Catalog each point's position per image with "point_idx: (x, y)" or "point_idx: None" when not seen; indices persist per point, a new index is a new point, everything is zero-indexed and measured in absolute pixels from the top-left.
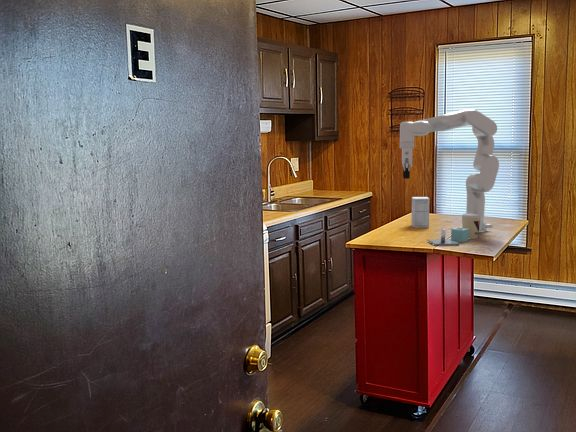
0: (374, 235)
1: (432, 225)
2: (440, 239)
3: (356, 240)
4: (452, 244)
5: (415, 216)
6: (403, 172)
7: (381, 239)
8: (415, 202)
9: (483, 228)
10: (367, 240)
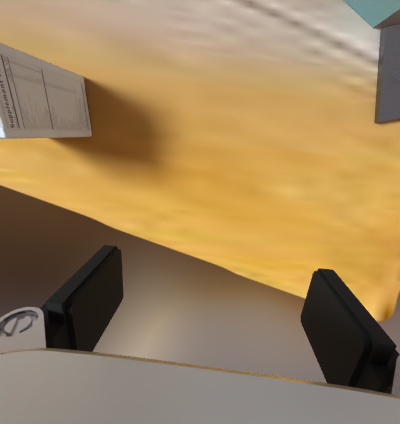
0: (254, 260)
1: None
2: (385, 71)
3: None
4: None
5: (67, 126)
6: (98, 338)
7: (320, 250)
8: (21, 126)
9: None
10: None
